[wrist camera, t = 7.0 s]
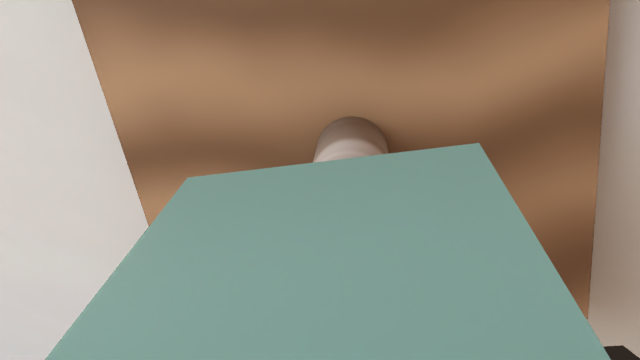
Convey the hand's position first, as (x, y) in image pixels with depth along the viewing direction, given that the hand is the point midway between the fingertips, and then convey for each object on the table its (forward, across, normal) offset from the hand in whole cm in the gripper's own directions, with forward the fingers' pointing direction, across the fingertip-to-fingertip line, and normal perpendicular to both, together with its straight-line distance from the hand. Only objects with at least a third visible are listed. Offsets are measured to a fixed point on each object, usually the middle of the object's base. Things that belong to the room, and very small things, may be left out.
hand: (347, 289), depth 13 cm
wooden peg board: (+11, 0, 0) cm, 11 cm away
